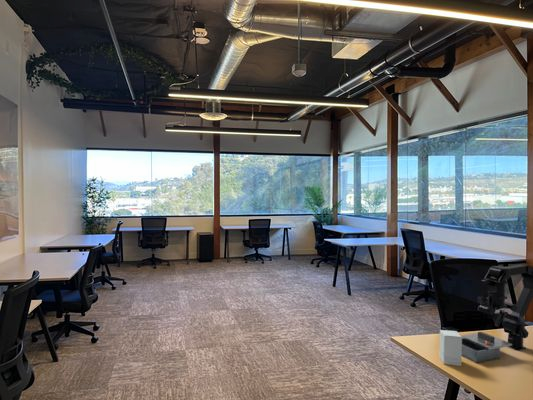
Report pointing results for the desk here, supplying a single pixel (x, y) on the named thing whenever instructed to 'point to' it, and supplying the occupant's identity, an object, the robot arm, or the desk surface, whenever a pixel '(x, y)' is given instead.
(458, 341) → the supplement box
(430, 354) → the desk surface
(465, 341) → the grey open box
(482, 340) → the lid
